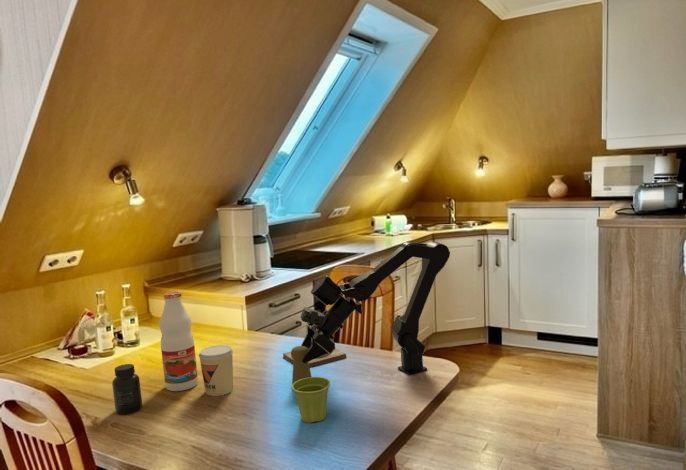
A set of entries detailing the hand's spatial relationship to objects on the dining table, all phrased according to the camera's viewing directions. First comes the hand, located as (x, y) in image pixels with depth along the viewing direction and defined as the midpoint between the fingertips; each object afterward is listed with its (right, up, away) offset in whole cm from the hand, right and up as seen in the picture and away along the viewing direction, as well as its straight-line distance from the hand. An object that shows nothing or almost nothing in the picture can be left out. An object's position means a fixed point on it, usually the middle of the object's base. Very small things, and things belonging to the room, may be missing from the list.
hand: (301, 356), depth 157 cm
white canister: (-23, -10, 0) cm, 25 cm away
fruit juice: (-36, -10, +6) cm, 38 cm away
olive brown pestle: (0, -8, +1) cm, 8 cm away
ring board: (+3, -5, +23) cm, 24 cm away
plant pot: (+5, -11, -21) cm, 24 cm away
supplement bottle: (-46, -12, -9) cm, 48 cm away
